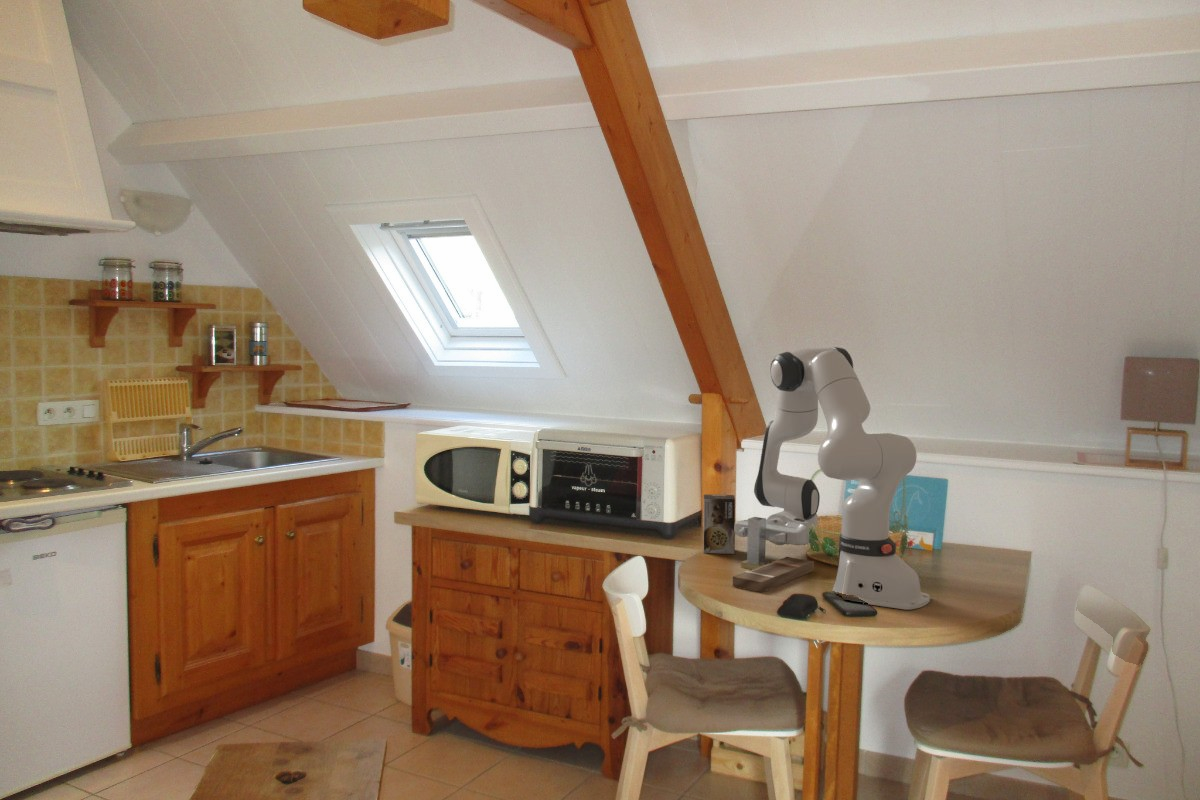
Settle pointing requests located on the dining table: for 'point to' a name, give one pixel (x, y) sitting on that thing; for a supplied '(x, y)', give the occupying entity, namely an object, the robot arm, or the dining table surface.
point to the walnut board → (773, 574)
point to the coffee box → (719, 524)
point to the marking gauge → (755, 543)
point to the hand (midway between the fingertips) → (756, 536)
